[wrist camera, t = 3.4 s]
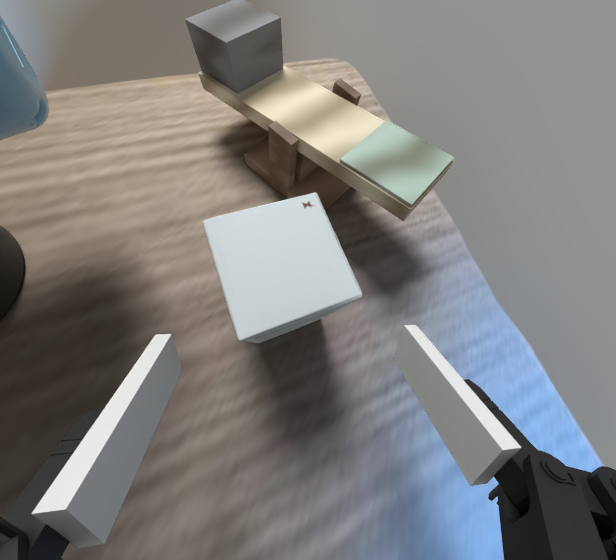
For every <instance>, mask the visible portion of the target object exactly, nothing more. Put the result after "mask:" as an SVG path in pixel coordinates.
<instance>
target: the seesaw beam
mask: <svg viewBox="0 0 616 560" xmlns="http://www.w3.org/2000/svg"><path fill="white" fill-rule="evenodd" d="M185 21H186V24H187V27H188V30H189V33H190V36H191V39H192V42H193V45H194V48H195V51H196V55H197V58H198V60H199V64H200V67H201V70H202V72H199V76H200V79H201V82H202V85H203V88H204V89H205V90H206V91H208V92H209V93H211V94H212V95H214V96H215V97H217V98H218V99H220V100H221V101H223V102H225V103H226V104H228V105H229V106H231V107H232V108H234V109H235V110H237V111H238V112H240V113H241V114H243V115H244V116H246V117H247V118H249V119H250V120H252V121H253V122H255V123H256V124H258V125H259V126H261V127H262V128H264V129H265V130H267V131H268V125H270V124H271V123H273V122H274V121H277V122H278V123H279V124H281V125H282V126H283V127H284V128H285V129H287V130H288V131H289V132H290V133H291V134H293V135H294V136H295V137H296V138H297V139H299V142H298V152H300V153H301V154H303V155H304V156H306V157H307V158H309V159H310V160H312V161H313V162H315V163H316V164H318V165H319V166H321V167H322V168H324V169H325V170H327V171H328V172H330V173H332V174H333V175H335V176H336V177H338V178H339V179H341V180H342V181H344V182H345V183H347V184H348V185H350V186H351V187H353V188H354V189H356V190H357V191H359V192H360V193H362V194H363V195H365V196H366V197H368V198H369V199H371V200H372V201H374V202H375V203H377V204H378V205H380V206H381V207H383V208H384V209H386V210H387V211H389V212H390V213H392V214H393V215H395V216H396V217H398V218H399V219H401V220H402V221H404V220H405V218H406V217H407V216H408V215H409V214H410V213H411V212H412V211H413V209H414V208H415V207H416V206H417V205H418V204H419V203H420V201H421V200H422V199H423V198H424V197H425V196H426V195H427V194H428V192H429V191H430V190H431V189H432V188H433V187H434V186H435V184H436V183H437V182H438V181H439V180H440V179H441V178H442V176H443V175H444V174H445V173H446V172H447V170H448V169H449V168H450V166H451V165H452V164H453V162H454V159H453V158H454V157H452V156H451V155H449V154H447V153H445V152H443V151H442V150H440V149H438V148H436V147H434V146H432V145H431V144H429V143H427V142H425V141H423V140H422V139H420V138H418V137H416V136H414V135H413V134H411V133H409V132H407V131H405V130H403V129H402V128H400V127H398V126H396V125H394V124H393V123H391V122H389V121H387V120H386V121H383V120H381V119H380V118H378V117H376V116H374V115H372V114H371V113H369V112H367V111H365V110H363V109H362V108H360V107H358V106H356V105H354V104H353V103H351V102H349V101H347V100H345V99H344V98H342V97H340V96H338V95H336V94H335V93H333V92H331V91H329V90H327V89H325V88H324V87H322V86H320V85H318V84H316V83H315V82H313V81H311V80H309V79H307V78H306V77H304V76H302V75H300V74H298V73H297V72H295V71H293V70H291V69H289V68H288V67H286V66H284V65H283V54H282V36H281V18H280V17H278V16H276V15H274V14H272V13H270V12H268V11H266V10H264V9H262V8H260V7H258V6H255V5H254V4H251V3H249V2H247V1H245V0H233V1H230V2H228V3H225V4H223V5H220V6H217V7H215V8H212V9H210V10H207V11H204V12H202V13H199V14H197V15H194V16H191V17H189V18H186V19H185ZM268 132H269V131H268Z"/></svg>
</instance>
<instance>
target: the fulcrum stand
mask: <svg viewBox="0 0 616 560" xmlns="http://www.w3.org/2000/svg"><path fill="white" fill-rule="evenodd" d="M333 93H335V94H336V95H338V96H340V97H342V98H344V99H345V100H347V101H349V102H351V103H353V104H354V105H356V106H357V105H358V102H359V99H360V96H361V94H360V93H359V92H357V91H356V90H355V89H354V88H352V87H351V86H350V85H348V84H347V83H346V82H344V81H343V80H342V79H341V78H340V79H339V80H337V81H336V82H335V83H334V87H333ZM268 131H269V137H268V138H266V139H265V140H263V141H262V142H261V143H259V144H258V145H256V146H255V147H253V148H252V149H250V150H249V151H247V152H246V153H244V156H245V162H246V164H247V165H248V166H249V167H251V168H252V169H253V170H254V171H255V172H256V173H257V174H259V175H260V176H261V177H262V178H263V179H264V180H265V181H267V182H268V183H269V184H270V185H271V186H272V187H273V188H275V189H276V190H277V191H278V192H279V193H280V194H281V195H283V196H284V197H285V198H286V199H290V198H295V197H299V196H303V195H307V194H311V193H317V194H318V196H319V199H320V201H321V203H322V206H323V208H324V210H325V211H326V210H327V209H328V208H329V207H331V206H332V205H333V204H334V203H335V202H336V201H337V200H338V199H339V198H340V197H341V196H342V195H344V194H345V193H346V192H347V191H348V190H349V189H350V188H351V186H350V185H348V184H347V183H345V182H344V181H342V180H341V179H339V178H338V177H336V176H335V175H333V174H332V173H330V172H328V171H327V170H325V169H324V168H322V167H321V166H319V165H318V164H316V163H315V162H313V161H312V160H310V159H309V158H307V157H306V156H304V155H303V154H301V153H300V152H298V142H299V139H297V138H296V137H295V136H294V135H293V134H291V133H290V132H289V131H288V130H287V129H285V128H284V127H283V126H282V125H281V124H279V123H278V122H277V121H274V122H273V123H271V124H270V125H268Z"/></svg>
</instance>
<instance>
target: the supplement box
mask: <svg viewBox="0 0 616 560" xmlns="http://www.w3.org/2000/svg"><path fill="white" fill-rule="evenodd" d="M203 226H204V230H205V234H206V238H207V241H208V244H209V248H210V251H211V255H212V258H213V261H214V265H215V268H216V272H217V275H218V278H219V281H220V284H221V288H222V291H223V294H224V297H225V300H226V304H227V307H228V310H229V314H230V317H231V320H232V323H233V326H234V329H235V332H236V335H237V338H238V340H239V341H245V342H253V343H261V342H264V341H266V340H269V339H271V338H274V337H277V336H279V335H282V334H284V333H287V332H290V331H292V330H295V329H297V328H300V327H302V326H305V325H307V324H310V323H312V322H315V321H317V320H319V319H322V318H323V317H326V316H328V315H329V314H331V313H333V312H335V311H336V310H338V309H340V308H342V307H344V306H345V305H347V304H349V303H351V302H353V301H356V300H359V299H361V298H362V292H361V289H360V287H359V285H358V282H357V280H356V278H355V276H354V274H353V272H352V270H351V267H350V265H349V263H348V261H347V258H346V256H345V254H344V252H343V250H342V248H341V245H340V243H339V240H338V238H337V236H336V234H335V232H334V230H333V228H332V225H331V223H330V221H329V219H328V217H327V215H326V212H325V210H324V208H323V206H322V203H321V201H320V199H319V196H318V194H317V193H311V194H307V195H303V196H299V197H295V198H290V199H286V200H282V201H278V202H274V203H270V204H266V205H262V206H258V207H253V208H249V209H245V210H241V211H237V212H233V213H229V214H225V215H221V216H217V217H213V218H210V219H206V220H204V221H203Z"/></svg>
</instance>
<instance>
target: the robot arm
mask: <svg viewBox="0 0 616 560" xmlns="http://www.w3.org/2000/svg"><path fill="white" fill-rule="evenodd" d="M48 111H49V107H48V100H47V97H46V94H45V92H44V89H43V87H42V85H41V83H40V81H39V79H38V77H37V75H36V73H35V71H34V70H33V68H32V66H31V65H30V63H29V61H28V60H27V58H26V56H25V54H24V53H23V51H22V50H21V48H20V46H19V45H18V43H17V42H16V40H15V38H14V37H13V35H12V34H11V32H10V30H9V29H8V27H7V26H6V24H5V22H4V21H3V19H2V18H1V17H0V140H2V139H5V138H8V137H11V136H15V135H18V134H21V133H24V132H27V131H30V130H33V129H36V128H38V127H39V126H41V125H42V124H43V123H44V122H45V121H46V119H47V117H48ZM23 270H24V262H23V256H22V252H21V249H20V247H19V245H18V243H17V241H16V240H15V238H14V237H13V236H12V235H11V234H10V233H9V232H8V231H7V230H6V229H5V228H3V227H2V226H0V319H1V318H2V316H3V315H4V314H5V313H6V311H7V310H8V309H9V307H10V306H11V304H12V302H13V301H14V299H15V297H16V295H17V293H18V291H19V288H20V285H21V282H22V277H23ZM393 358H394V360H395V362H396V363H397V365H398V367H399V368H400V370H401V372H402V373H403V375H404V377H405V378H406V380H407V382H408V383H409V385H410V387H411V388H412V390H413V392H414V393H415V395H416V397H417V398H418V400H419V402H420V403H421V405H422V407H423V408H424V410H425V412H426V413H427V415H428V417H429V418H430V420H431V422H432V423H433V425H434V426H435V428H436V430H437V431H438V433H439V435H440V436H441V438H442V440H443V441H444V443H445V445H446V446H447V448H448V450H449V451H450V453H451V455H452V456H453V458H454V460H455V461H456V463H457V465H458V466H459V468H460V470H461V471H462V473H463V475H464V476H465V478H466V480H467V481H468V483H469V485H470V486H473V485H479V484H486V483H488V482H489V481H490V480H491V479H492V478H493V476H494V477H495V478H496V480H497V481H498V483H499V484H498V485H497V486H496V487H495V488H494V489H493V490H492V491H491V492H490V493H489V498H488V499H490V500H491V501H492V500H493V499H494V498H495V497H497V496H498V502H497V504H498V505H499V514H500V523H501V533H502V543H503V552H504V560H616V470H614V469H612V468H609V467H603V466H602V467H599V468H597V469H596V470H594V471H593V472H592V473H591V472H587V471H583V470H579V469H575V468H571V467H567V466H565V465H564V464H563V463H562V462H561V461H560V460H558V459H557V458H555V457H553V456H552V455H550V454H548V453H545V452H543V451H538V450H537V449H536V448H535V447H534V446H533V445H532V444H531V443H530V442H529V441H528V440H527V439H526V437H525V436H524V435H523V434H522V433H521V432H520V431H519V430H518V429H517V428H516V426H515V425H514V424H513V423H512V422H511V421H510V420H509V419H508V418H507V417H506V415H505V414H504V413H503V412H502V411H501V410H499V409H498V407H497V406H496V404H495V403H494V402H493V401H491V400H490V398H489V397H488V396H487V395H486V393H485V392H484V391H483V390H482V389H481V388H480V387H478V386H477V385H476V384H474V383H473V382H472V381H470V380H469V379H466V380H463V379H462V378H461V377H460V376H459V374H458V373H457V372H456V371H455V370H454V369H453V367H452V366H451V365H450V364H449V363H448V362H447V360H446V359H445V358H444V357H443V356H442V355H441V354H440V352H439V351H438V350H437V349H436V348H435V347H434V345H433V344H432V343H431V342H430V341H429V340H428V338H427V337H426V336H425V335H424V334H423V333H422V331H421V330H420V329H419V328H418V327H417V326H416V325H404V327H403V330H402V333H401V336H400V339H399V342H398V345H397V348H396V351H395V354H394V357H393ZM181 372H182V368H181V365H180V361H179V358H178V354H177V351H176V347H175V344H174V341H173V337H172V334H157V335H155V336H154V338H153V339H152V340H151V342H150V343H149V345H148V346H147V348H146V349H145V351H144V352H143V353H142V355H141V356H140V358H139V359H138V361H137V362H136V363H135V365H134V366H133V368H132V369H131V371H130V372H129V374H128V375H127V376H126V378H125V379H124V381H123V382H122V384H121V385H120V387H119V388H118V389H117V391H116V392H115V394H114V395H113V397H112V398H111V400H110V401H109V402H108V404H107V405H106V407H105V408H104V409H96V410H90V411H89V412H88V413H86V414H85V415H84V416H83V417H82V418H81V419H79V420H78V421H77V422H76V423H75V424H74V425H73V426H72V427H71V429H70V430H69V431H68V433H67V434H66V435H65V437H64V438H63V439H62V440H61V441H62V442H61V443H60V444H58V446H57V447H56V448H55V450H54V451H53V452H52V453H51V456H50V458H48V459H47V460H46V461H45V463H44V464H43V465H42V466H41V468H40V469H39V470H38V472H37V473H36V474H35V476H34V477H33V478H32V479H31V481H30V482H29V483H28V485H27V486H26V487H25V489H24V490H23V491H22V492H21V494H20V495H19V496H18V498H17V499H16V500H15V502H14V503H13V504H12V506H11V507H10V508H9V509H8V511H7V512H6V513H5V515H4V516H3V517H0V560H62V558H61V556H62V555H63V553H64V551H65V549H66V547H67V545H68V544H69V543H71V544H72V545H73V546H75V547H76V548H82V547H89V546H95V545H101V544H105V542H106V540H107V538H108V536H109V533H110V531H111V529H112V527H113V524H114V522H115V520H116V518H117V515H118V513H119V511H120V509H121V506H122V504H123V502H124V500H125V497H126V495H127V493H128V491H129V489H130V486H131V484H132V482H133V480H134V477H135V475H136V473H137V471H138V468H139V466H140V464H141V462H142V459H143V457H144V455H145V453H146V450H147V448H148V446H149V444H150V442H151V439H152V437H153V435H154V433H155V430H156V428H157V426H158V424H159V421H160V419H161V417H162V415H163V412H164V410H165V408H166V406H167V403H168V401H169V399H170V397H171V394H172V392H173V390H174V388H175V386H176V383H177V381H178V379H179V377H180V374H181Z"/></svg>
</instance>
